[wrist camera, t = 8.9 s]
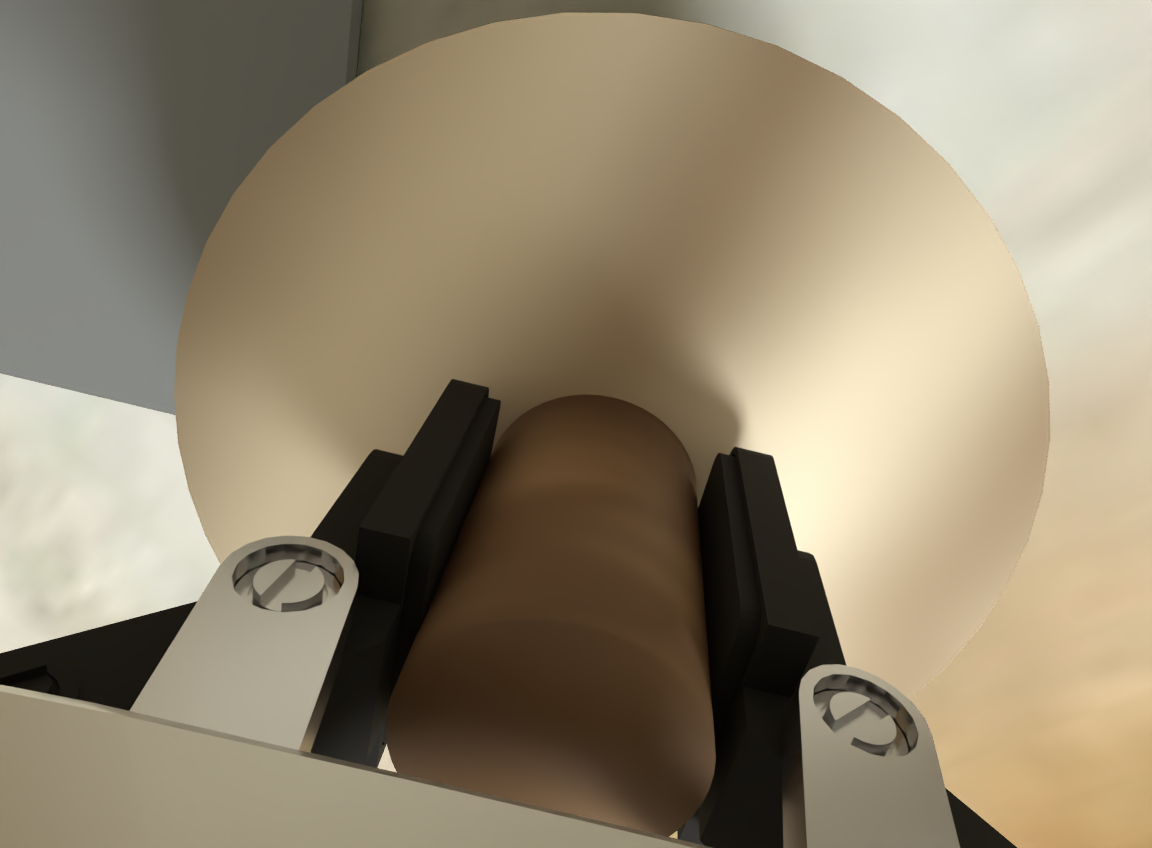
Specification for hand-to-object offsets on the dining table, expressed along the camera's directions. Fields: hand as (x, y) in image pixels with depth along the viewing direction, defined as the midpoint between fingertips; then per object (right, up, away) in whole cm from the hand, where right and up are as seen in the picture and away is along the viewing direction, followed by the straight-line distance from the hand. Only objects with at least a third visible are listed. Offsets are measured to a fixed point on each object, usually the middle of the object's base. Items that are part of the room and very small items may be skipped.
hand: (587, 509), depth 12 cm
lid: (0, +1, +1) cm, 2 cm away
